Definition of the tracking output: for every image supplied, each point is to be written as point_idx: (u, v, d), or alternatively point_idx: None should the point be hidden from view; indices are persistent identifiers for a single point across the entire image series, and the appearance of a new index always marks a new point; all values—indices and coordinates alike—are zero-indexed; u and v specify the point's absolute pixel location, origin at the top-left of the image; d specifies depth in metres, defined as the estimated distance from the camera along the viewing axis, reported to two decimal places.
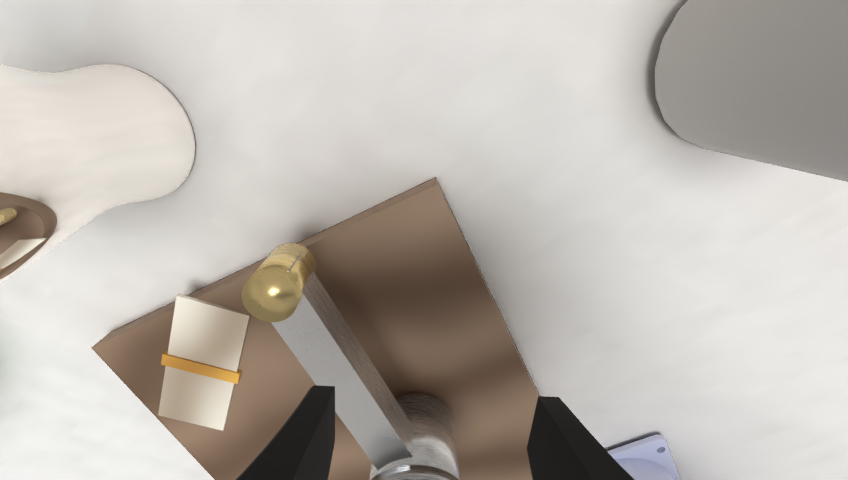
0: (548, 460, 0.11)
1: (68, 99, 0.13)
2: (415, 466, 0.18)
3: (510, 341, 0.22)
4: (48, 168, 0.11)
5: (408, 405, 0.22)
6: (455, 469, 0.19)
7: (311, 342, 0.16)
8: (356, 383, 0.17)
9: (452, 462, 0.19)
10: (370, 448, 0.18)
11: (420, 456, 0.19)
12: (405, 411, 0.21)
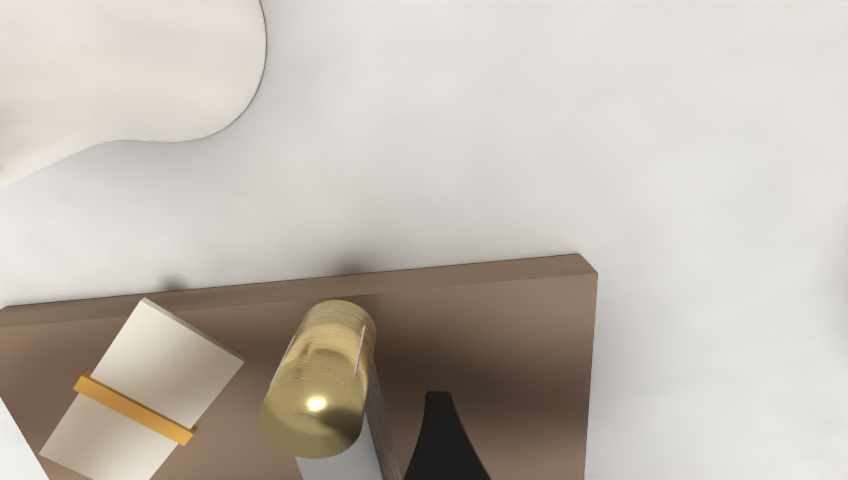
0: None
1: None
2: None
3: None
4: None
5: None
6: None
7: None
8: None
9: None
10: None
11: None
12: None
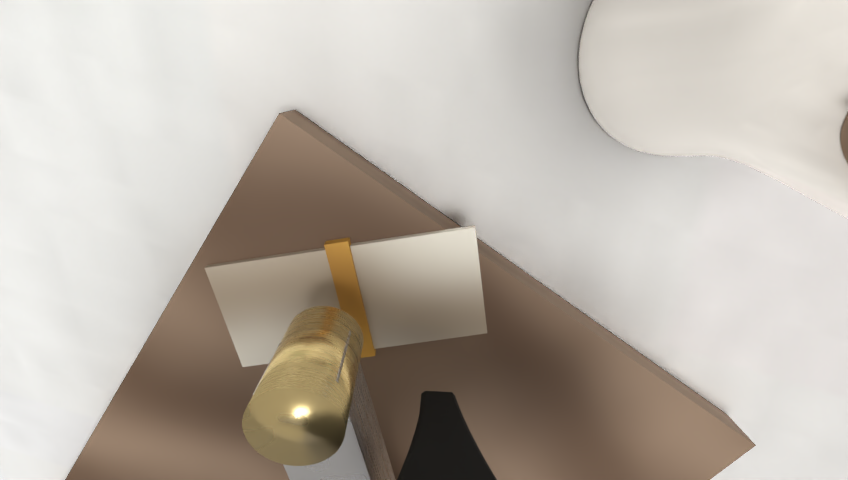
0: None
1: None
2: None
3: None
4: None
5: None
6: None
7: None
8: None
9: None
10: None
11: None
12: None
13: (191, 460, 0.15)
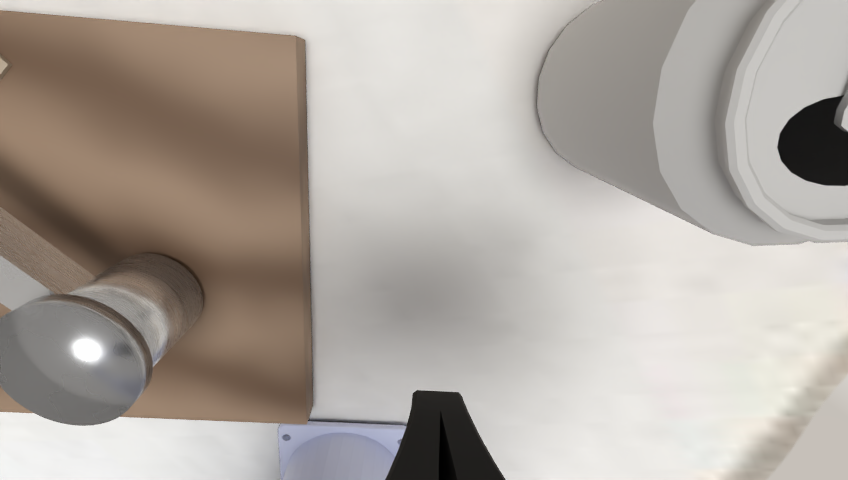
0: (438, 455, 0.11)
1: None
2: (38, 297, 0.14)
3: (300, 252, 0.20)
4: None
5: (114, 265, 0.18)
6: (131, 305, 0.16)
7: None
8: None
9: (127, 298, 0.16)
10: (7, 298, 0.15)
11: (70, 294, 0.15)
12: (105, 270, 0.18)
13: None
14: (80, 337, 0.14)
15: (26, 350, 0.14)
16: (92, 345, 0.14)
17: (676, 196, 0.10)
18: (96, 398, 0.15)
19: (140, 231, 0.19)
